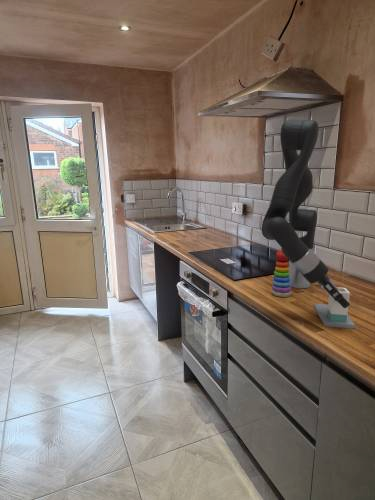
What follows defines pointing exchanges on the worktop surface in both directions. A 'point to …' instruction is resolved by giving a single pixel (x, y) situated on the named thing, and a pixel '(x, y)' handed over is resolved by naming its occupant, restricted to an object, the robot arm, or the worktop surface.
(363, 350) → the worktop surface
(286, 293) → the stacking toy
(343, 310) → the sleeve
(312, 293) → the worktop surface
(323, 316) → the pin board
